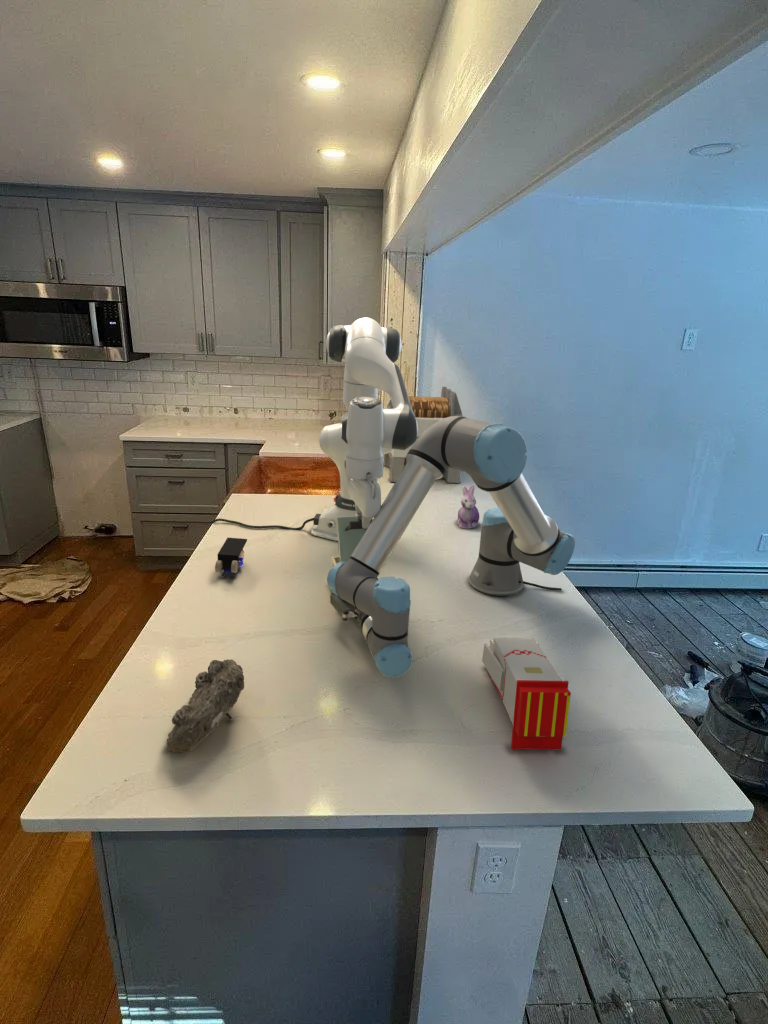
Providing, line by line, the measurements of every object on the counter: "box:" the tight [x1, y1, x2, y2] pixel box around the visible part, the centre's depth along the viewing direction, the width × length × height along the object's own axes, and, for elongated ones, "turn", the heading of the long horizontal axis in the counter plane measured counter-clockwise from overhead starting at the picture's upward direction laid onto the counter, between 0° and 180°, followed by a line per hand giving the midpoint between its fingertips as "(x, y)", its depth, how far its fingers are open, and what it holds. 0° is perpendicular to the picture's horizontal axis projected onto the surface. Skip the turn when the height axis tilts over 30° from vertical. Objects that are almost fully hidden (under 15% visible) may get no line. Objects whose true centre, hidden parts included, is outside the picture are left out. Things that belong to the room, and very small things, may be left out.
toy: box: [481, 636, 572, 751], centre depth 115 cm, size 12×13×30 cm
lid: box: [337, 517, 373, 562], centre depth 142 cm, size 16×9×9 cm
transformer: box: [383, 386, 463, 484], centre depth 268 cm, size 34×33×41 cm
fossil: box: [166, 658, 245, 754], centre depth 106 cm, size 22×10×15 cm
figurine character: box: [214, 537, 248, 578], centre depth 166 cm, size 7×8×15 cm
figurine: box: [456, 484, 480, 530], centre depth 209 cm, size 9×10×15 cm
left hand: (362, 523), depth 137 cm, fingers open, 4 cm apart
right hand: (356, 581), depth 149 cm, fingers closed on chest, 9 cm apart
